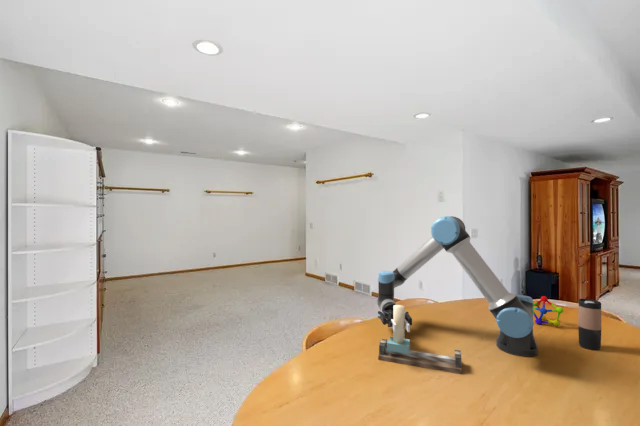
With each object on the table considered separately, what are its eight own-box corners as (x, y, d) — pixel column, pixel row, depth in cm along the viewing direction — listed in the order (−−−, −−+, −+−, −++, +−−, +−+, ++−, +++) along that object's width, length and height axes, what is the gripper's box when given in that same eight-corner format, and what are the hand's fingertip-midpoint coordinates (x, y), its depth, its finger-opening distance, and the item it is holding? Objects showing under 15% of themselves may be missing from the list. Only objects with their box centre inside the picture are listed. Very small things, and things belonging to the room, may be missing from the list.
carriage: (410, 346, 128) (410, 305, 128) (408, 354, 121) (408, 310, 121) (390, 343, 131) (390, 302, 131) (387, 350, 124) (387, 307, 124)
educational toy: (523, 324, 168) (520, 295, 169) (538, 320, 173) (535, 293, 175) (554, 331, 154) (551, 299, 155) (570, 327, 159) (567, 297, 161)
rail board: (460, 361, 122) (460, 348, 122) (462, 374, 113) (462, 359, 113) (382, 349, 133) (382, 336, 133) (377, 359, 124) (377, 345, 124)
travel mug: (597, 345, 138) (597, 299, 138) (604, 352, 131) (604, 304, 131) (575, 342, 142) (575, 297, 142) (581, 348, 135) (581, 302, 135)
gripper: (409, 318, 144) (424, 338, 120) (370, 317, 144) (379, 337, 121) (409, 301, 144) (425, 319, 120) (370, 301, 144) (379, 318, 121)
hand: (402, 328), depth 121 cm, fingers closed on carriage, 4 cm apart
